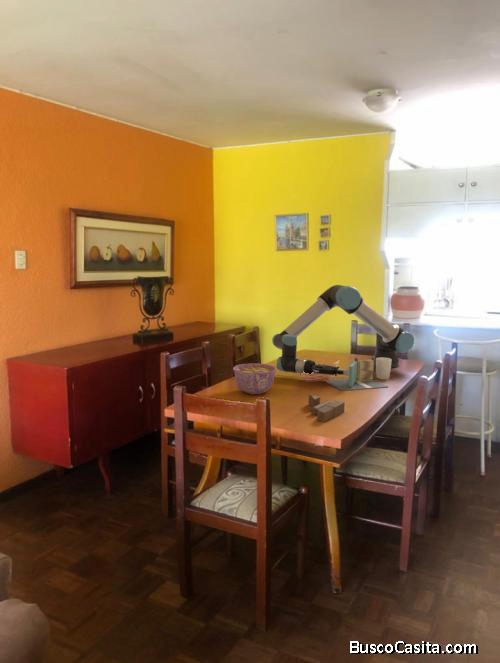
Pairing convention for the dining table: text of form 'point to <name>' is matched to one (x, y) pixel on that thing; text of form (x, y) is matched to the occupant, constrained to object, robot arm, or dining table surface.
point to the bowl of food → (254, 377)
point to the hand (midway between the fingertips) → (350, 373)
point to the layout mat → (355, 384)
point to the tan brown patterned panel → (365, 369)
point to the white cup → (383, 368)
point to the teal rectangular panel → (352, 374)
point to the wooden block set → (325, 408)
